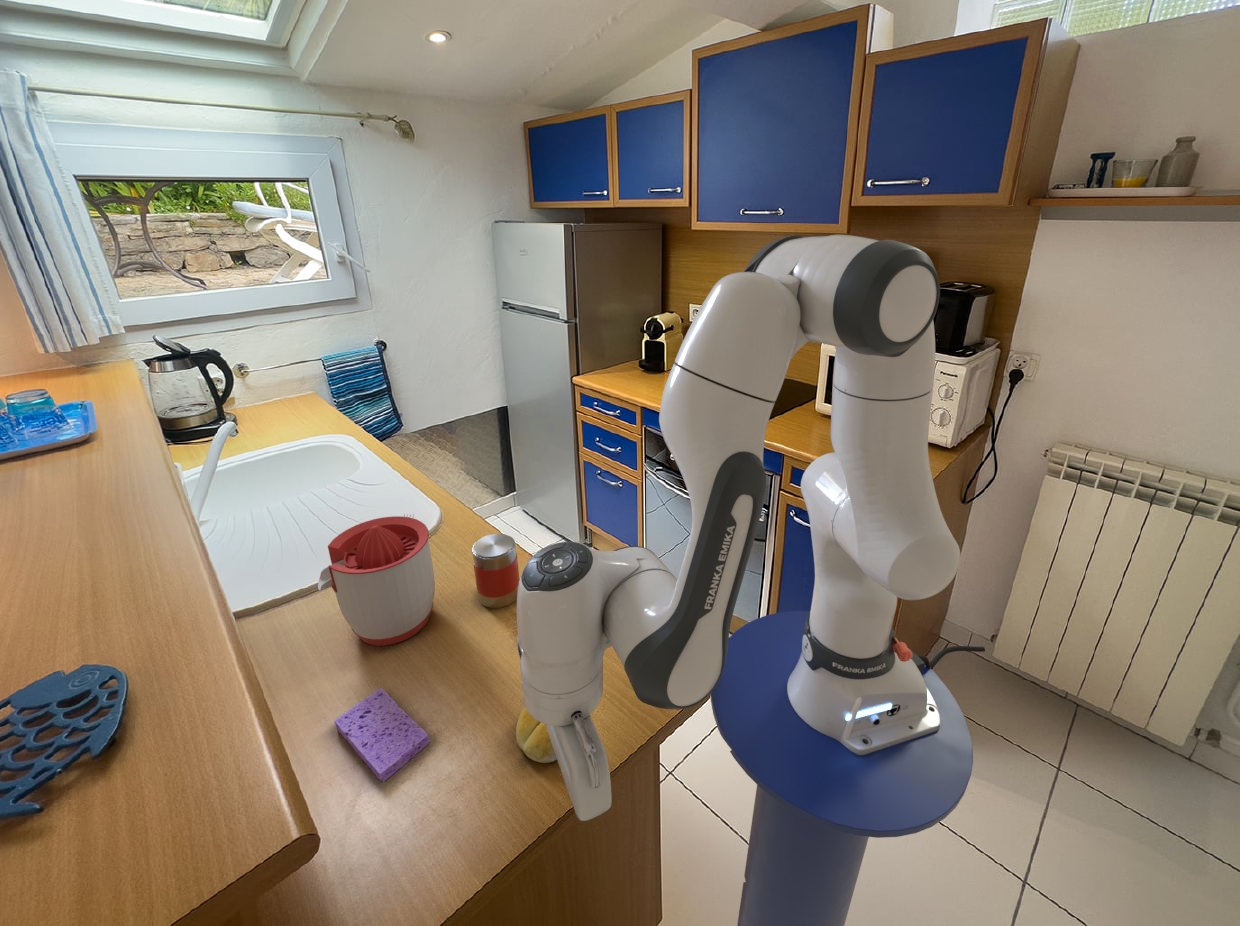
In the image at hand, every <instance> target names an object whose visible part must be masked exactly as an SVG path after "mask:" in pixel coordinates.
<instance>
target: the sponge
mask: <svg viewBox="0 0 1240 926" xmlns="http://www.w3.org/2000/svg"><path fill="white" fill-rule="evenodd" d="M333 723H334V725H335V728H336V730H337V731H338V732H339V733H340V734H341V736H342V737H343V738H344V740H346V741H347V743H348V744H349V745H350V747H352V749H353V750H354V751H355V753H356V754H357V755H358V757H360V758H361V760H362V761H364V763H365V764H366V766H367V767H368V768H369V769H370V770H371V771H372V773H373V775H375V776H376V778H377V779H378V780H379V781H382V783H384V782H385V781H387V779H389V778H390V777H392V776H393V775H394V774H395V773H396V772H397V771H398V770H400V769H401V768H403V767H404V765H406V764H407V763H408V762H409V761H410V759H413V758H414V757H415V756H417V754H418V753H420V752H421V751H422V750H423V749H425V748H426V747H427V746H428V745H429V743H430V742H431V741H430V737H429V734H428V733H427V732H426V731H425V729H423V728H422V727H421V726H420V725H418V723H417V722H416V721H414V720H413V719H412V718H411V717H410V716H409V715H408V713H406V712H405V710H403V709H402V708H401V707H399V705H398V704H397V702H396V701H395V700H394V699H393V698H392V697H391V696H390V695H389V694H388V693H387V692H386V691H385V690H384V689H383V688H382V687H379V688H377V689H376V690H374V691H373V692H372V693H370V694H369V695H368V696H366V697H364V699H363V701H359V702H358V703H356V704H355V705H353V707H352V708H350V709H349V710H347V711H346V712H344V713H342V714H341V715H339V716H338V717H337V718H335V719H334V720H333Z"/></svg>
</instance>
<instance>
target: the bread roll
mask: <svg viewBox="0 0 1240 926" xmlns="http://www.w3.org/2000/svg"><path fill="white" fill-rule="evenodd" d="M515 738H516V743H517V745H518V747H519V748H520V749H521V750H522V752H523V753H524V754H525V755H526V757H528V759H529V760H532V761H534V762H536V763H539V764H540V763H541V764H547V763H554V762H555V761H558V760H557V757H556V755H555V752H554V749H553V746H552V743H551V740H550V737H549V734H548V731H547V728H546V726H545V724H544V723H541V722H539V721H538V720H536V719H535V718H533V717H532V716H531V715H530V714H529V712H528V711H527V709H526V707H525V706H524V708H523V709H522V710H521V711H520V714H519V716H518V719H517V722H516V727H515Z"/></svg>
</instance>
